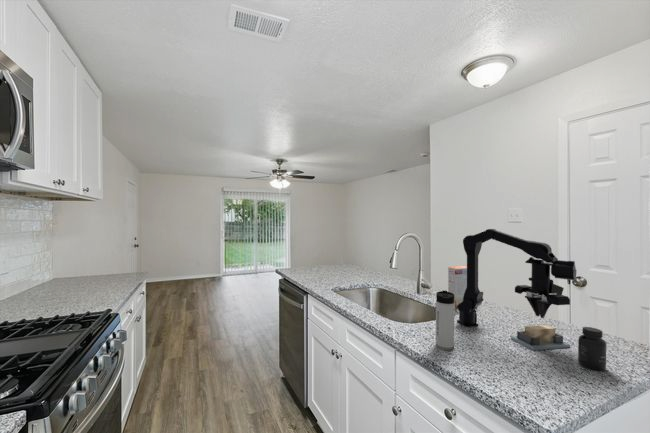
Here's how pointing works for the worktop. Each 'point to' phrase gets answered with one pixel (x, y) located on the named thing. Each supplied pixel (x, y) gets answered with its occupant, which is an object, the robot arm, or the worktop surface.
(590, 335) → the supplement bottle
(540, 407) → the worktop surface
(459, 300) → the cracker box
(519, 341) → the board
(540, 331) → the slat
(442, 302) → the travel mug
